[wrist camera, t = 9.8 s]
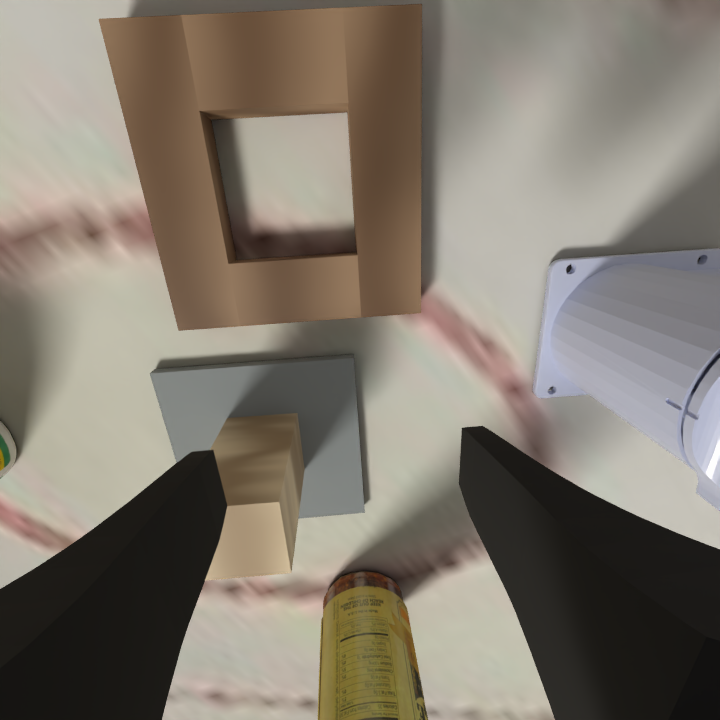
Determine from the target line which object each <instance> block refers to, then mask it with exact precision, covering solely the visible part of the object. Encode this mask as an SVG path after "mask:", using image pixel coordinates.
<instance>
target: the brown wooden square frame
mask: <svg viewBox="0 0 720 720" xmlns="http://www.w3.org/2000/svg"><path fill="white" fill-rule="evenodd" d="M99 22H100V26H101V30H102V34H103V38H104V42H105V46H106V50H107V54H108V57H109V61H110V65H111V69H112V73H113V77H114V81H115V85H116V89H117V92H118V96H119V100H120V104H121V108H122V112H123V116H124V120H125V124H126V127H127V131H128V135H129V139H130V143H131V147H132V151H133V155H134V159H135V163H136V166H137V170H138V174H139V178H140V182H141V186H142V190H143V194H144V198H145V201H146V205H147V209H148V213H149V217H150V221H151V225H152V229H153V233H154V236H155V240H156V244H157V248H158V252H159V256H160V260H161V264H162V268H163V272H164V275H165V279H166V283H167V287H168V291H169V295H170V299H171V303H172V307H173V310H174V314H175V318H176V322H177V326H178V330H179V331H181V330H194V329H208V328H222V327H236V326H249V325H263V324H277V323H291V322H304V321H318V320H332V319H346V318H359V317H373V316H387V315H401V314H414V313H421V142H422V4H409V5H388V6H366V7H345V8H323V9H302V10H280V11H258V12H237V13H215V14H194V15H172V16H151V17H129V18H107V19H99ZM343 112H348V128H349V145H350V161H351V177H352V194H353V210H354V227H355V243H356V252H351V253H336V254H321V255H306V256H291V257H276V258H261V259H246V260H237V259H236V254H235V248H234V243H233V237H232V231H231V226H230V220H229V215H228V209H227V204H226V198H225V193H224V187H223V182H222V176H221V171H220V165H219V160H218V154H217V149H216V143H215V137H214V132H213V126H212V121H211V120H216V119H234V118H253V117H271V116H289V115H307V114H325V113H343Z"/></svg>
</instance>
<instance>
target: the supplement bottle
mask: <svg viewBox="0 0 720 720" xmlns="http://www.w3.org/2000/svg"><path fill="white" fill-rule="evenodd" d="M15 459H16V446H15V443H14V441H13V438H12V436H11V434H10V432H9V430H8V429H7V428H6V427H5V425H4V424H3V423H2V422H1V421H0V478H2V477H3V476H4V475H5V474H6V473H7V472H8V471H9V470H10V469H11V468H12V466H13V464H14V462H15Z"/></svg>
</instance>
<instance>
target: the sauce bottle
mask: <svg viewBox="0 0 720 720" xmlns="http://www.w3.org/2000/svg"><path fill="white" fill-rule="evenodd" d="M323 609H324V611H323V618H322V621H321V641H320V670H319V696H318V720H428V717H427V712H426V708H425V703H424V696H423V691H422V685H421V680H420V675H419V670H418V664H417V659H416V654H415V648H414V643H413V638H412V633H411V627H410V622H409V616H408V611H407V607H406V606H405V604H404V602H403V598H402V594H401V591H400V588H399V586H398V585H397V584H396V582H395V581H393V580H392V578H388V577H386V576H384V575H382V574H380V573H377V572H368V571H365V572H363V571H360V572H356V573H350V574H347V575H344V576H341V577H340V578H339V579H338V580H337V581H336V582H335V583H334V584H333V585H332V586H331V587H330V589H329V590H328V592H327V593H326V596H325V597H324V603H323Z"/></svg>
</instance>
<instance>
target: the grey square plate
mask: <svg viewBox="0 0 720 720" xmlns="http://www.w3.org/2000/svg"><path fill="white" fill-rule="evenodd" d="M150 376H151V379H152V382H153V386H154V389H155V392H156V396H157V399H158V402H159V406H160V409H161V412H162V416H163V419H164V422H165V425H166V429H167V432H168V435H169V439H170V442H171V445H172V449H173V452H174V455H175V459H176V462H179V461H180V460H181V459H182V458H184V457H185V456H186V455H188V454H189V453H191V452H193V451H204V450H210V449H211V447H212V445H213V443H214V441H215V440H216V438H217V436H218V434H219V432H220V430H221V428H222V427H223V425H224V423H225V421H226V419H227V418H234V417H248V416H262V415H276V414H290V413H297V415H298V422H299V430H300V438H301V445H302V453H303V461H304V468H305V470H304V478H303V486H302V494H301V501H300V509H299V517H298V518H309V517H320V516H332V515H343V514H354V513H365V510H364V496H363V481H362V467H361V453H360V439H359V425H358V411H357V396H356V382H355V368H354V355H353V354H348V355H335V356H322V357H308V358H295V359H282V360H269V361H256V362H242V363H229V364H216V365H203V366H190V367H176V368H163V369H155V370H153V371H152V372H151V373H150Z"/></svg>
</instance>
